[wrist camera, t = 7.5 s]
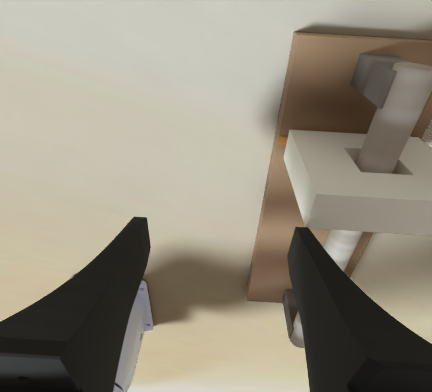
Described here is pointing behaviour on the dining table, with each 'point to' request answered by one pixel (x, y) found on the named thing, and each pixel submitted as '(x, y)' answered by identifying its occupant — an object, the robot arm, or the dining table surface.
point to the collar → (359, 185)
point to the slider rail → (343, 123)
